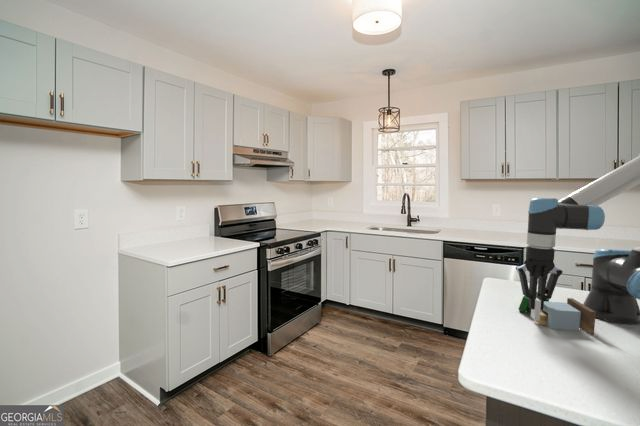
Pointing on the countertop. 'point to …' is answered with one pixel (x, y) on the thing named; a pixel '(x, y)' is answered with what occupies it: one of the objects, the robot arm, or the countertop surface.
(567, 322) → the block
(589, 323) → the wall
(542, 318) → the tan rectangular bar
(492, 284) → the countertop surface
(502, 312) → the countertop surface
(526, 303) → the clamp
